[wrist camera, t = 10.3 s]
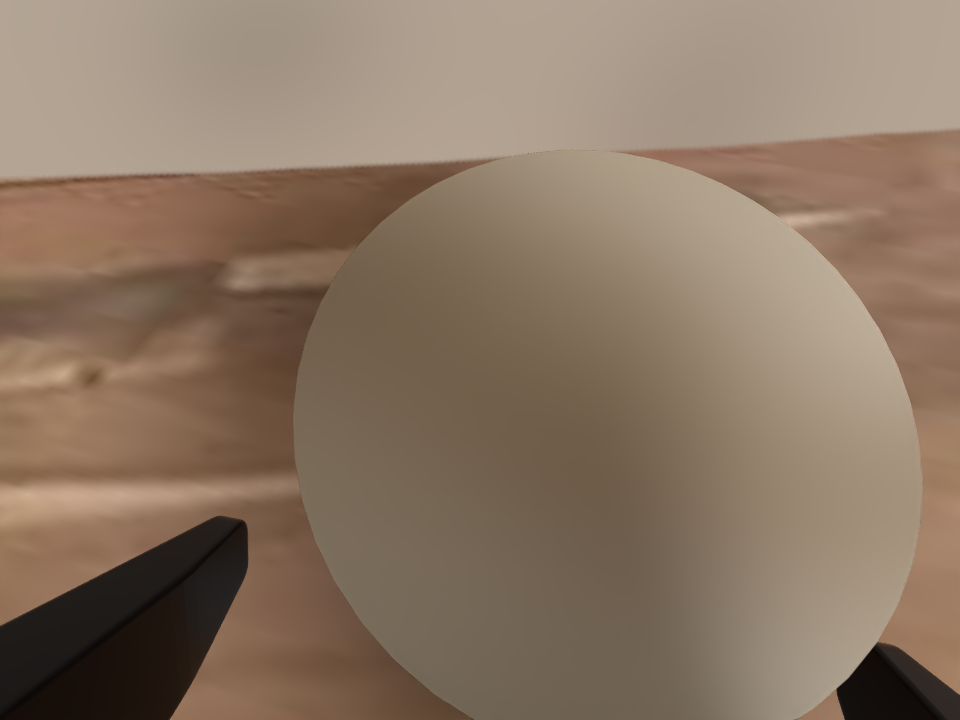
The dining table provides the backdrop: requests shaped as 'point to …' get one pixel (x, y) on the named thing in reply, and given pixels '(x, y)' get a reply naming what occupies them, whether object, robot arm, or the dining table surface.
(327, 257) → the dining table surface
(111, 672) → the robot arm
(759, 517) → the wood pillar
